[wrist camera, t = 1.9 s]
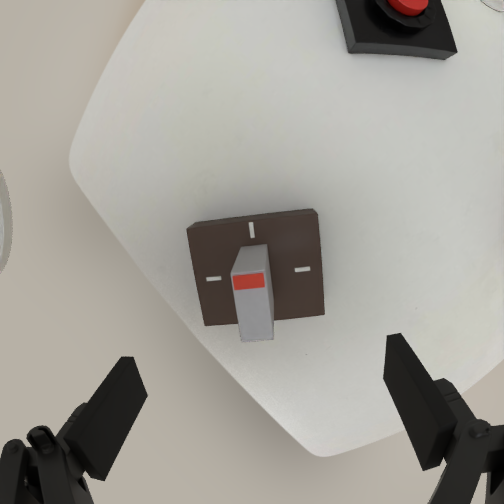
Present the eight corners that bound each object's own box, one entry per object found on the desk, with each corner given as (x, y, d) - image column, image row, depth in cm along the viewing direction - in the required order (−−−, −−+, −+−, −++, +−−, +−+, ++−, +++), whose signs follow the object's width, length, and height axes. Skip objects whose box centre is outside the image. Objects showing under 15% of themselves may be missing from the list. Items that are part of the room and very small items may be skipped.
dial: (273, 299, 30) (273, 341, 22) (248, 302, 30) (241, 344, 23) (267, 243, 29) (265, 270, 21) (240, 246, 29) (229, 274, 21)
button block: (348, 53, 27) (360, 35, 22) (329, -19, 24) (336, -42, 19) (444, 60, 25) (466, 48, 21) (422, -9, 23) (439, -27, 18)
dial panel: (210, 311, 35) (204, 327, 31) (194, 222, 32) (185, 229, 29) (320, 301, 33) (325, 315, 30) (312, 208, 31) (318, 213, 28)
